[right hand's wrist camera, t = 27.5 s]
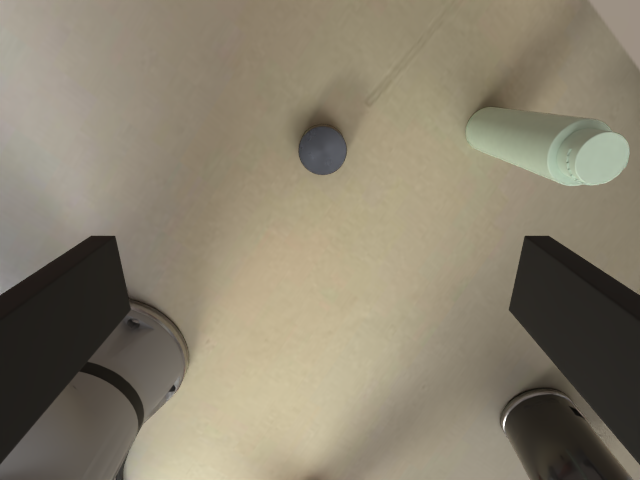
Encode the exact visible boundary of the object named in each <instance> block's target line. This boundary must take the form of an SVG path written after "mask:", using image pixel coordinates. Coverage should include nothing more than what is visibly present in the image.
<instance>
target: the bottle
mask: <svg viewBox="0 0 640 480" xmlns="http://www.w3.org/2000/svg"><path fill="white" fill-rule="evenodd" d="M466 138H467V141H468V143H469V144H470V145H471V146H472V147H473V148H474V149H476V150H479V151H481V152H484V153H486V154H489V155H491V156H493V157H496V158H498V159H501V160H503V161H506V162H508V163H511V164H513V165H516V166H518V167H521V168H523V169H526V170H528V171H531V172H533V173H536V174H538V175H540V176H543V177H545V178H548V179H550V180H553V181H555V182H558V183H560V184H563V185H567V186H578V185H582V184H585V185H599V184H603V183H606V182H608V181H610V180H612V179H614V178H615V177H616V176H618V175H619V174H620V173H621V171H622V170H623V169H624V167H626V165H627V163H628V158H629V152H630V150H629V145H628V142H627V140H626V139H625V138H624V137H623V136H622V135H620V134H619V133H616V132H612V130H611V129H610V127H609V126H608V125H607V124H605V123H604V122H602V121H600V120H596V119H590V118H581V117H573V116H564V115H556V114H547V113H539V112H531V111H522V110H514V109H505V108H497V107H486V108H483V109H480V110H479V111H477V112H476V113H475V114H473V116H472V117H471V118H470V120H469V121H468V123H467V126H466Z"/></svg>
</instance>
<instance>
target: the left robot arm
mask: <svg viewBox="0 0 640 480" xmlns="http://www.w3.org/2000/svg"><path fill="white" fill-rule="evenodd" d="M585 419H586V420H587V418H586V417H585V416H584V415H583V414H582V413H581V412H580V411H579V410H578V409H577V408H576V406H575V405H574V403H573V402H572V401H571V400H570V398H569V397H568V396H567V395H565V394H564V393H562V392H560V391H558V390H554V389H535V390H531V391H528V392H525V393H523V394H521V395H519V396H517V397H515V398H514V399H513V400H512V401H510V402H509V403H508V405H507V406H506V407H505V409H504V410H503V412H502V415H501V427H502V429H503V431H504V433H505V435H506V437H507V438H508V439H509V441H510V443H511V445H512V446H513V448H514V450H515V452H516V454H517V456H518V458H519V460H520V462H521V464H522V465H523V467H524V469H525V471H526V473H527V475H528V477H529V479H530V480H633V479H632V478H631V476H630V475H629V474H628V473H627V471H626V470H625V469H624V468H623V466H622V465H621V464H620V463H619V461H618V460H617V459H616V458H615V456H614V455H613V454H612V453H611V451H610V450H609V449H608V447H607V446H606V445H605V444H604V442H603V441H602V440H601V439H600V437H599V436H598V435H597V434H596V432H595V431H594V430H593V429H592V427H591V426H590V425H589V423H590V422H589V421H588V420H587V421H588V422H589V423H588V422H587V421H586V420H585ZM590 424H591V423H590Z"/></svg>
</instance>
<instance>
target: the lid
mask: <svg viewBox="0 0 640 480" xmlns="http://www.w3.org/2000/svg"><path fill="white" fill-rule="evenodd" d="M346 153H347V148H346V143H345V141H344V138H343V136H342V135H341V133H340V132H339V131H338V130H337V129H336V128H334V127H333V126H330V125H327V124H319V125H315V126H313V127H311V128H309V129H308V130H307V131H306V132H305V133H304V135H303V136H302V138H301V141H300V144H299V157H300V160H301V162H302V164H303V165H304V166H305V168H306V169H308V170H309V171H310V172H312V173H315V174H318V175H327V174H331V173H333V172H335V171H336V170H338V169H339V168H340V167H341V165H342V164H343V162H344V160H345V158H346Z"/></svg>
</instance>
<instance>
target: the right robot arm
mask: <svg viewBox="0 0 640 480" xmlns="http://www.w3.org/2000/svg"><path fill="white" fill-rule="evenodd" d="M509 311H510V312H511V313H512V314H513V315H514V316H515V318H516V319H517V320H518V321H519V322H520V324H521V325H522V326H523V327H524V328H525V329H526V331H527V332H528V333H529V334H530V335H531V337H532V338H533V339H534V340H535V341H536V342H537V344H538V345H539V346H540V347H541V348H542V350H543V351H544V352H545V353H546V354H547V356H548V357H549V358H550V359H551V360H552V361H553V363H554V364H555V365H556V366H557V367H558V369H559V370H560V371H561V372H562V373H563V374H564V376H565V377H566V378H567V379H568V380H569V382H570V383H571V384H572V385H573V386H574V387H575V389H576V390H577V391H578V392H579V393H580V395H581V396H582V397H583V398H584V399H585V400H586V402H587V403H588V404H589V405H590V406H591V408H592V409H593V410H594V411H595V412H596V413H597V415H598V416H599V417H600V418H601V419H602V421H603V422H604V423H605V424H606V425H607V426H608V428H609V429H610V430H611V431H612V432H613V434H614V435H615V436H616V437H617V438H618V439H619V441H620V442H621V443H622V444H623V445H624V447H625V448H626V449H627V450H628V451H629V453H630V454H631V455H632V456H633V457H634V458H635V460H636V461H637V462H638V463H639V464H640V295H638V294H637V293H635V292H634V291H632V290H631V289H629V288H628V287H626V286H625V285H623V284H622V283H620V282H618V281H617V280H615V279H614V278H612V277H611V276H609V275H608V274H606V273H605V272H603V271H602V270H600V269H599V268H597V267H596V266H594V265H592V264H591V263H589V262H588V261H586V260H585V259H583V258H582V257H580V256H579V255H577V254H576V253H574V252H573V251H571V250H570V249H568V248H566V247H565V246H563V245H562V244H560V243H559V242H557V241H556V240H554V239H553V238H551V237H550V236H525V237H524V242H523V247H522V251H521V256H520V261H519V265H518V270H517V275H516V279H515V284H514V288H513V293H512V298H511V302H510V307H509ZM188 364H189V354H188V348H187V345H186V342H185V340H184V338H183V336H182V334H181V333H180V331H179V330H178V328H177V327H176V326H175V325H174V324H173V323H172V322H171V321H170V320H169V319H168V318H167V317H166V316H165V315H163V314H162V313H160V312H159V311H157V310H156V309H154V308H152V307H150V306H148V305H146V304H143V303H141V302H137V301H134V300H130V299H129V298H128V293H127V288H126V284H125V279H124V275H123V270H122V265H121V261H120V256H119V251H118V247H117V242H116V238H115V236H90V237H89V238H87V239H86V240H84V241H83V242H81V243H80V244H78V245H77V246H75V247H74V248H72V249H70V250H69V251H67V252H66V253H64V254H63V255H61V256H60V257H58V258H57V259H55V260H54V261H52V262H51V263H49V264H48V265H46V266H44V267H43V268H41V269H40V270H38V271H37V272H35V273H34V274H32V275H31V276H29V277H28V278H26V279H25V280H23V281H22V282H20V283H18V284H17V285H15V286H14V287H12V288H11V289H9V290H8V291H6V292H5V293H3V294H2V295H0V480H114V479H115V477H116V480H123V468H124V464H125V460H126V458H127V455H128V452H129V450H130V448H131V446H132V444H133V442H134V440H135V438H136V436H137V434H138V432H139V430H140V428H141V426H142V425H143V424H144V423H145V422H146V421H147V420H148V419H149V418H150V417H151V416H152V415H153V414H154V413H155V412H156V411H157V410H158V409H159V408H161V407H162V406H163V405H164V404H165V403H166V402H167V401H168V400H169V399H170V398H171V397H172V396H173V395H174V394H175V393H176V391H177V390H178V388H179V387H180V385H181V383H182V381H183V379H184V377H185V374H186V372H187V369H188Z"/></svg>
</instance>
